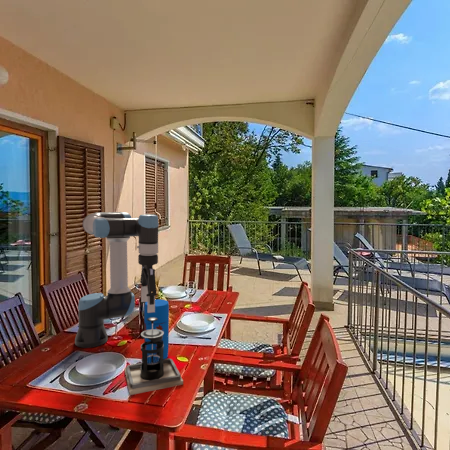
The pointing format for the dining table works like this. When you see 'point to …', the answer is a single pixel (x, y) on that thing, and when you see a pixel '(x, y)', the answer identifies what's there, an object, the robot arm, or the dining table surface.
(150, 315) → the thermos
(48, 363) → the dining table surface
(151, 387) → the board
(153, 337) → the french press
